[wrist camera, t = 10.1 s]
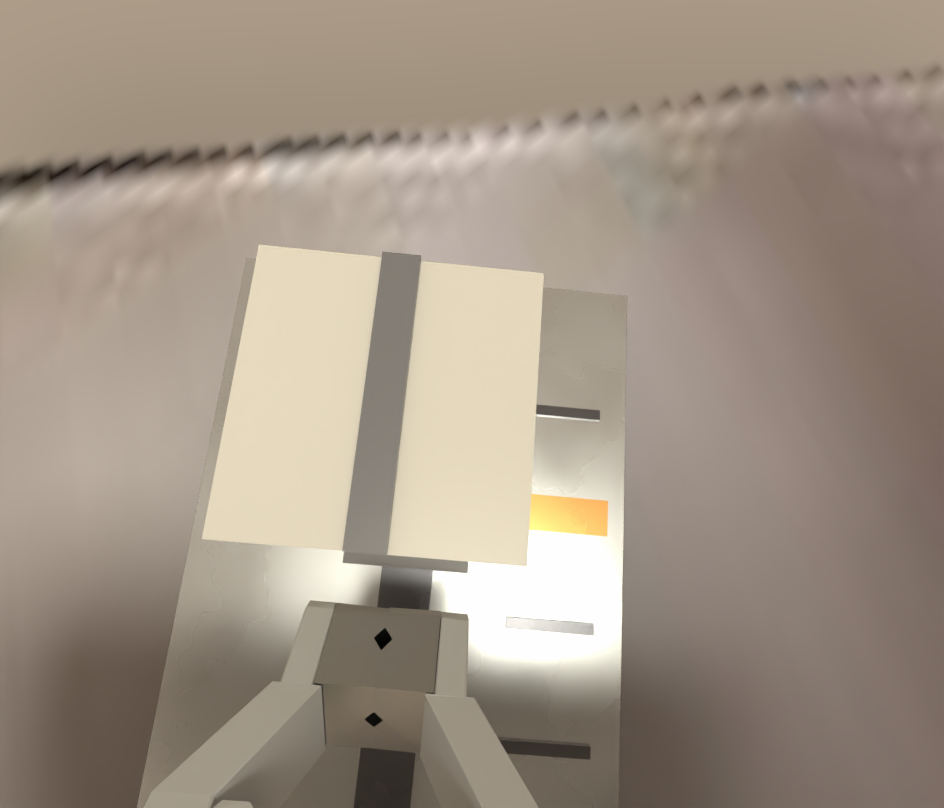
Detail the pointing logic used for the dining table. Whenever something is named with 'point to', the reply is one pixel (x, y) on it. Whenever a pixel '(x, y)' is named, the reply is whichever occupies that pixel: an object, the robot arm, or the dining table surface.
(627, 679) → the dining table surface
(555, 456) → the board
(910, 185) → the dining table surface
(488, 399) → the fader tab
